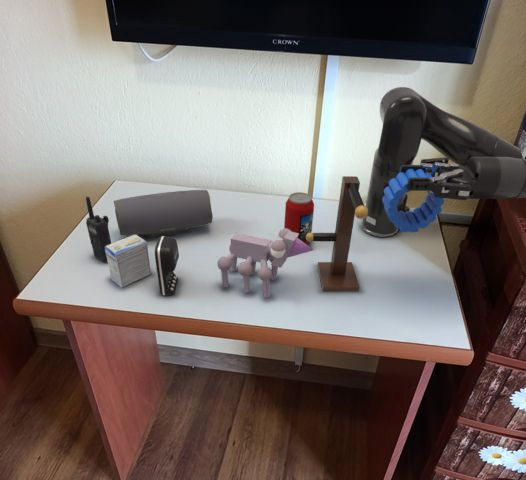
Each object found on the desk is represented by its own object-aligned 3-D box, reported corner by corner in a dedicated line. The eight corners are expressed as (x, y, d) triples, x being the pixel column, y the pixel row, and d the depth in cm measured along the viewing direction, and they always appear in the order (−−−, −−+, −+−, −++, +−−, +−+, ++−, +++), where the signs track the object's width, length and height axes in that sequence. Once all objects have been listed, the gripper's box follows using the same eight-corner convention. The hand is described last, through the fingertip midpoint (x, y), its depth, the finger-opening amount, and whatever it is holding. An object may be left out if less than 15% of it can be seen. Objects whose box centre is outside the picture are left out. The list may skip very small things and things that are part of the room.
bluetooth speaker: (205, 217, 134) (203, 181, 127) (213, 234, 128) (212, 197, 121) (118, 228, 128) (111, 191, 122) (122, 247, 122) (115, 209, 115)
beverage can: (308, 251, 123) (312, 205, 115) (281, 247, 124) (283, 202, 116) (312, 237, 128) (316, 192, 120) (285, 234, 129) (288, 189, 120)
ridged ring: (377, 219, 102) (388, 168, 95) (428, 219, 103) (442, 169, 96) (383, 232, 99) (394, 179, 91) (435, 232, 99) (450, 180, 92)
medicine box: (140, 266, 116) (135, 233, 110) (152, 274, 114) (147, 240, 108) (110, 280, 112) (103, 245, 106) (122, 288, 109) (115, 254, 104)
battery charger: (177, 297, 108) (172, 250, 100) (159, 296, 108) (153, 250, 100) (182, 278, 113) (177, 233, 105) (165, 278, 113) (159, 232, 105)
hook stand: (300, 266, 118) (309, 169, 102) (351, 266, 118) (367, 169, 103) (308, 311, 105) (319, 208, 89) (364, 311, 106) (385, 209, 90)
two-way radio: (91, 256, 119) (77, 196, 108) (106, 249, 121) (94, 189, 111) (105, 265, 116) (92, 204, 106) (121, 257, 119) (110, 197, 108)
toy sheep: (315, 283, 113) (321, 228, 104) (301, 310, 105) (307, 254, 96) (232, 264, 117) (231, 210, 108) (214, 289, 110) (211, 234, 101)
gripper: (500, 214, 92) (409, 214, 91) (472, 181, 103) (390, 180, 102) (515, 174, 87) (419, 173, 86) (484, 143, 97) (398, 142, 97)
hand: (404, 177), depth 94 cm, fingers closed on ridged ring, 5 cm apart
